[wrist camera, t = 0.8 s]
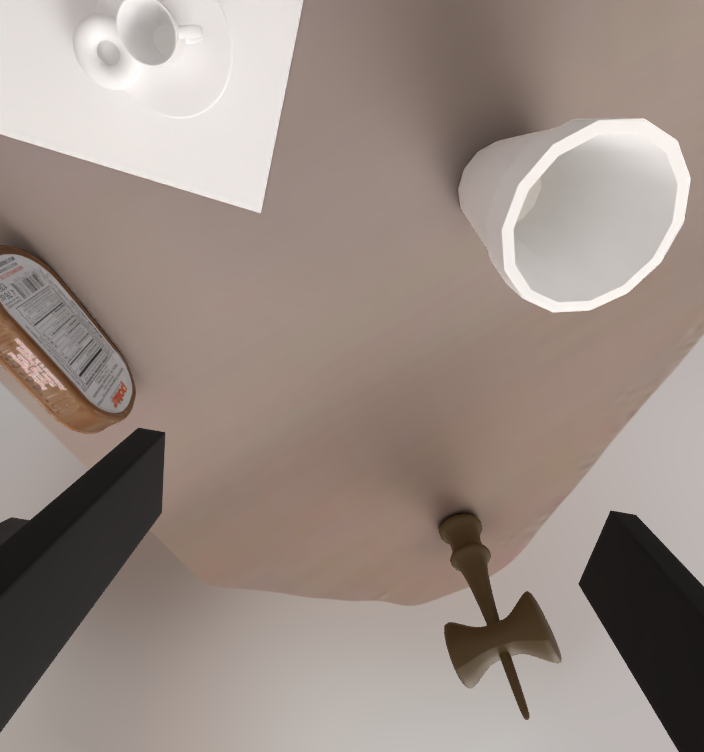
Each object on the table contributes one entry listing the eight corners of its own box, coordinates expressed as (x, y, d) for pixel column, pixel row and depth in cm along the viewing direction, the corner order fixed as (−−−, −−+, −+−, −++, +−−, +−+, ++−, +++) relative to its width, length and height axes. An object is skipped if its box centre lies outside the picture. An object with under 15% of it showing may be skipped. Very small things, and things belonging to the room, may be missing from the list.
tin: (-6, 243, 32) (-97, 282, 25) (29, 226, 32) (-53, 260, 25) (124, 395, 40) (83, 457, 33) (154, 383, 39) (119, 443, 32)
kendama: (503, 523, 54) (591, 715, 37) (432, 551, 55) (485, 747, 38) (487, 494, 51) (576, 688, 34) (413, 525, 52) (461, 724, 35)
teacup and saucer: (83, 88, 28) (51, 85, 24) (84, -77, 24) (46, -108, 20) (223, 135, 30) (211, 138, 26) (244, -10, 26) (233, -29, 22)
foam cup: (545, 88, 30) (683, 74, 19) (572, 212, 34) (696, 261, 23) (418, 159, 31) (476, 185, 20) (460, 269, 36) (526, 339, 25)
